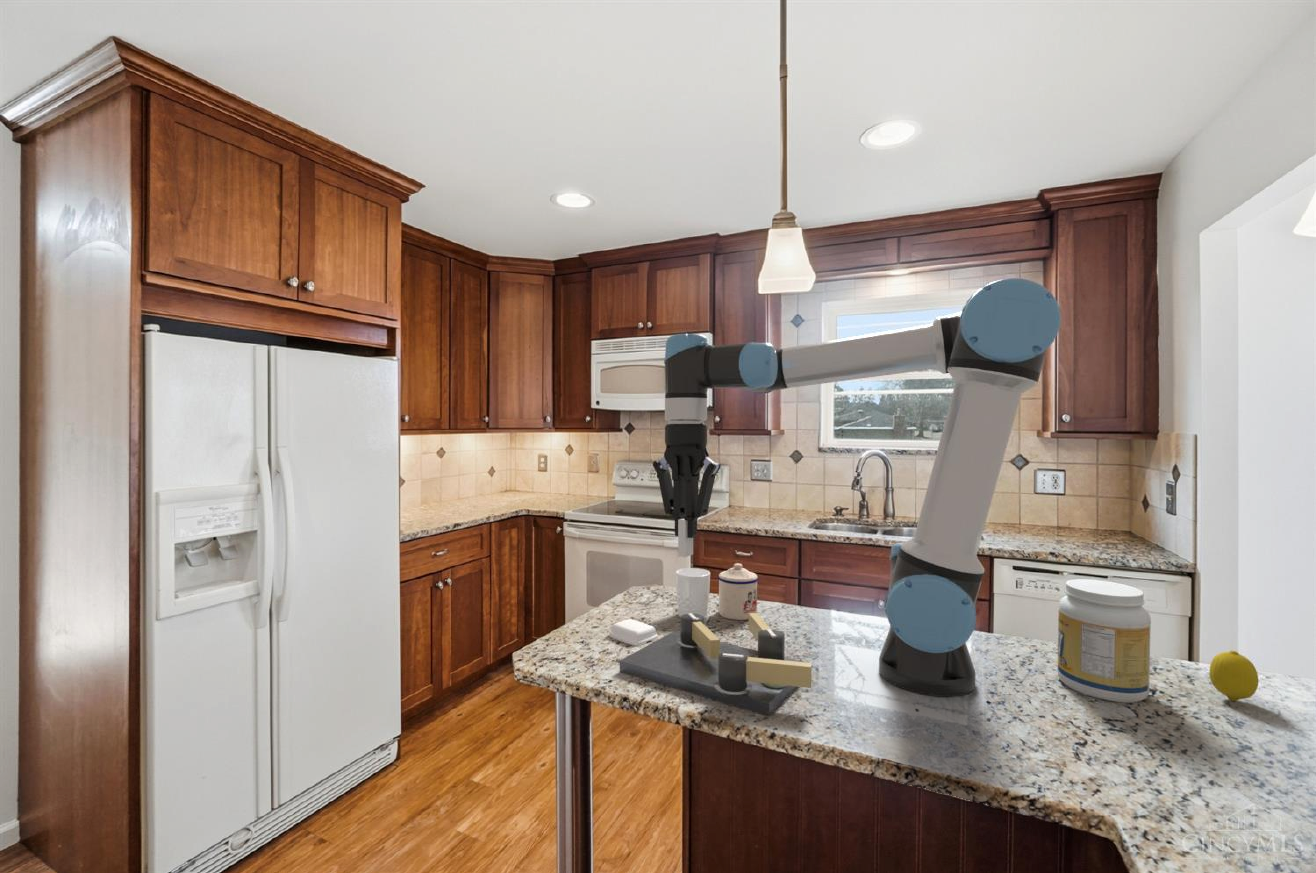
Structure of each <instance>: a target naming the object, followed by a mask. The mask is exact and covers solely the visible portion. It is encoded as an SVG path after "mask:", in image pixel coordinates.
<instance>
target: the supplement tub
mask: <svg viewBox="0 0 1316 873" xmlns="http://www.w3.org/2000/svg"><path fill="white" fill-rule="evenodd" d="M1064 593H1065V594H1066V595H1065V596H1063V597H1061V598H1060V600H1059V603H1058V607H1057V608H1058V620H1057V622H1058V623H1057V624H1058V626H1057V627H1058V629H1057V630H1058V631H1057V633H1058V634H1057V635H1058V637H1057V638H1058V639H1057V669H1056V670H1057V675H1058V678H1059V679H1060V681H1061V682H1062V683H1063V684H1064V685H1066V687H1068V688H1070V689H1072V690H1073V691H1075V692H1078V693H1081V694H1083V695H1086V696H1089V697H1093V698H1097V699H1099V700H1100V699H1101V700H1106V701H1111V702H1114V703H1115V702H1116V703H1137V702H1140V701H1144V700H1145V699H1146V698H1148V696H1149V694H1150V690H1151V689H1150V670H1151V668H1150V664H1151V624H1152V618H1151V616H1150V614H1149V612H1148V610H1146V608H1145V607H1143V606H1144V605H1145V600H1144V592H1143V591H1142V590H1141V589H1139V588H1137V587H1134V586H1130V585H1128V584H1125V583H1124V584H1123V583H1120V582H1119V583H1118V582H1114V581H1110V580H1109V581H1108V580H1101V579H1090V578H1088V579H1087V578H1080V579H1079V578H1078V579H1077V578H1075V579H1068V580H1067V581H1066V582H1065V589H1064Z"/></svg>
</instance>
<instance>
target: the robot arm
mask: <svg viewBox="0 0 1316 873" xmlns="http://www.w3.org/2000/svg"><path fill="white" fill-rule="evenodd" d="M1061 319H1062V316H1061V309H1060V305H1059V303H1058V300H1057V299H1056V297H1055V296H1054V295H1053V294H1052V292H1051V291H1050V290H1049V289H1047V288H1046V287H1045V286H1044V285H1042V284H1040V283H1038V282H1037V281H1033V280H1031V279H1027V278H1020V277H1011V278H1010V277H1009V278H1003V279H999V280H996V281H992V282H990V283H988V284H986V285H984V286H982V288H979V289H978V290H976V292H974V293H973V294H972V295H971V296H970V297H969V299H968V300H966V302H965V305H964V306H963V307H962V310H961V311H960V312H956V313H953V314H948V315H944V316H937V317H936V318H935V319H934V320H933V321H932V322H931V323H930V324H925V325H919V326H913V327H909V328H908V327H907V328H906V327H905V328H902V329H896V330H895V329H894V330H887V331H883V332H876V333H870V334H869V333H868V334H864V335H859V336H857V335H856V336H852V337H846V338H841V339H838V338H837V339H833V340H826V341H822V342H815V343H808V344H803V345H798V346H797V345H796V346H792V347H791V346H790V347H784V348H780V349H779V348H778V349H776V348H775V346H774V345H773V344H771V343H769V342H753V341H750V342H747V343H746V342H745V343H734V344H733V343H732V344H720V345H711V344H710V345H709V343H708V338H707V337H706V336H705V335H703V334H698V333H679V334H673V335H670V336H669V337H668V338H667V339H666V341H665V353H664V359H663V362H664V363H663V364H664V387H665V392H664V393H665V394H664V420H665V421H666V422H667V424H666V425H665V426H664V443H665V446H666V447H665V450H664V453H663V457H661V458H660V459H659V460H654V461H653V462H652V466H653V469H654V470H655V472H656V475H657V479H658V483H659V484H658V485H659V489H660V490H659V491H660V493H661V494H660V495H661V499H662V504H663V505H662V506H663V510H664V512H665V514H666V515H670V516H672V517H673V520H674V536H675V537H678V538H677V542H678V543H677V545H678V546H677V548H678V550H677V555H678V557H681V558H688V557H690V556H693V555H694V538H696V537H697V536H698V520H699V518H701V517H704V516H707V514H708V511H709V507H710V503H711V499H712V494H713V489H714V485H715V480H716V476H717V474H718V472H719V471H720V469H721V463H719V462H715V461H714V460H713V459H711V458H709V452H708V450H707V444H708V426H707V424H705V423H704V422H706V421H707V420H708V389H712V390H713V389H714V390H716V389H741V390H746V391H748V392H749V391H750V392H752V393H754V394H759V395H761V394H770V393H771V392H774V391H779V390H780V391H781V390H785V389H791V388H798V387H799V388H801V387H807V386H815V385H821V384H822V385H823V384H828V383H837V382H844V381H854V380H858V379H859V380H860V379H861V380H862V379H867V378H868V379H869V378H875V377H884V376H891V375H897V374H899V375H900V374H905V373H913V372H921V371H927V370H937V371H938V372H940V373H941V374H942V375H943V374H949V375H950V376H951V378H952V380H953V381H954V387H953V390H952V395H951V398H950V402H949V406H948V408H947V409H948V410H947V412H946V417H945V421H944V424H943V427H942V432H941V435H940V439H939V442H938V447H937V450H936V454H935V459H934V461H933V462H934V463H933V464H932V465H933V466H932V469H931V472H930V476H929V480H928V484H927V488H926V491H925V495H924V500H923V503H922V506H921V510H920V513H919V518H918V522H917V525H916V529H915V533H914V536H913V537H912V538H910V539H908V540H907V541H904V542H896V543H894V544H892V546H891V549H890V555H889V561H890V579H889V586H888V592H887V593H886V596H885V600H884V608H885V609H884V612H885V615H886V618H887V621H888V623H889V630H888V632H887V635H886V638H885V641H884V644H883V645H882V646H883V647H882V649H881V652H880V655H879V656H878V657H879V658H878V673H879V674H880V675H881V677H882V678H884V679H885V680H886V681H887V682H889V683H891V684H893V685H894V686H897V687H898V688H901V689H904V690H907V691H910V692H913V693H918V694H922V695H928V696H937V697H958V696H963V695H968V694H970V693H972V692H973V691H974V690H975V689H976V676H977V674H976V670H975V668H974V664H973V661H972V658H971V654H970V652H969V649H968V645H967V642H968V640H969V639H970V638H971V636H972V635H973V632H974V630H975V627H976V624H977V612H976V603H977V599H978V595H979V593H980V588H981V585H982V581H983V578H984V575H985V574H984V573H985V570H986V569H985V567H984V566H983V564H982V563H981V561H980V560H979V558H978V555H977V554H978V550H979V548H980V544H981V541H982V537H983V532H984V529H985V526H986V523H987V519H988V515H989V511H990V508H991V504H992V501H993V498H994V493H995V490H996V487H997V482H998V479H999V475H1000V472H1001V470H1002V469H1001V468H1002V465H1003V462H1004V458H1005V454H1006V451H1007V447H1008V444H1009V440H1010V436H1011V434H1012V430H1013V426H1014V423H1015V419H1016V415H1017V411H1018V407H1019V405H1020V401H1021V397H1022V395H1024V393H1026V392H1027V391H1030V390H1031V389H1033V388H1035V387H1036V386H1037V385H1038V383H1039V379H1040V375H1041V373H1042V369H1043V366H1044V362H1045V359H1046V355H1047V351H1048V349H1049V347H1050V346H1051V345H1052V344H1053V343H1054V341H1055V339H1056V338H1057V337H1058V334H1059V332H1060V327H1061V322H1062V320H1061ZM669 468H670V469H669ZM702 469H703V471H704V472H703V474H702V477H701V471H702ZM670 470H671V472H670ZM700 479H701V482H700V487H699V481H700Z"/></svg>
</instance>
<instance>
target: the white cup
mask: <svg viewBox="0 0 1316 873" xmlns="http://www.w3.org/2000/svg"><path fill="white" fill-rule="evenodd" d="M710 583H711V572H710V570H707V569H704V568H698V567H685V568H680V569H677V570H676V571H675V585H676V586H675V592H676V604H677V616H678V617H679V618H680V617H681V616H682V615H684V614H688V613H692V614H699V615H702V616H704V617H705V619H706V618H707V617H708V616H709V615H708V611H709V610H708V609H709V601H710V588H711V587H710V586H711V585H710Z"/></svg>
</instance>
